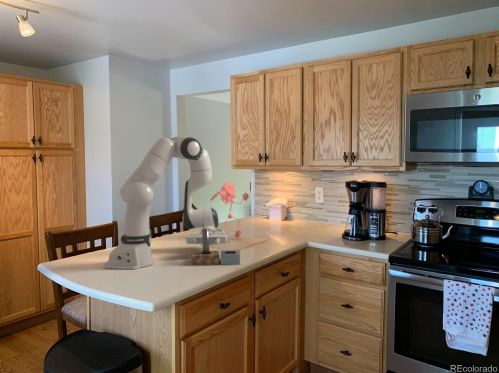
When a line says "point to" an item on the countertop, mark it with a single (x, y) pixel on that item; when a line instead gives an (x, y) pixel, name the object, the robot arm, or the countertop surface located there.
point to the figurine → (228, 195)
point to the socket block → (230, 257)
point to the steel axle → (205, 241)
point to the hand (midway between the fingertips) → (205, 242)
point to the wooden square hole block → (205, 258)
